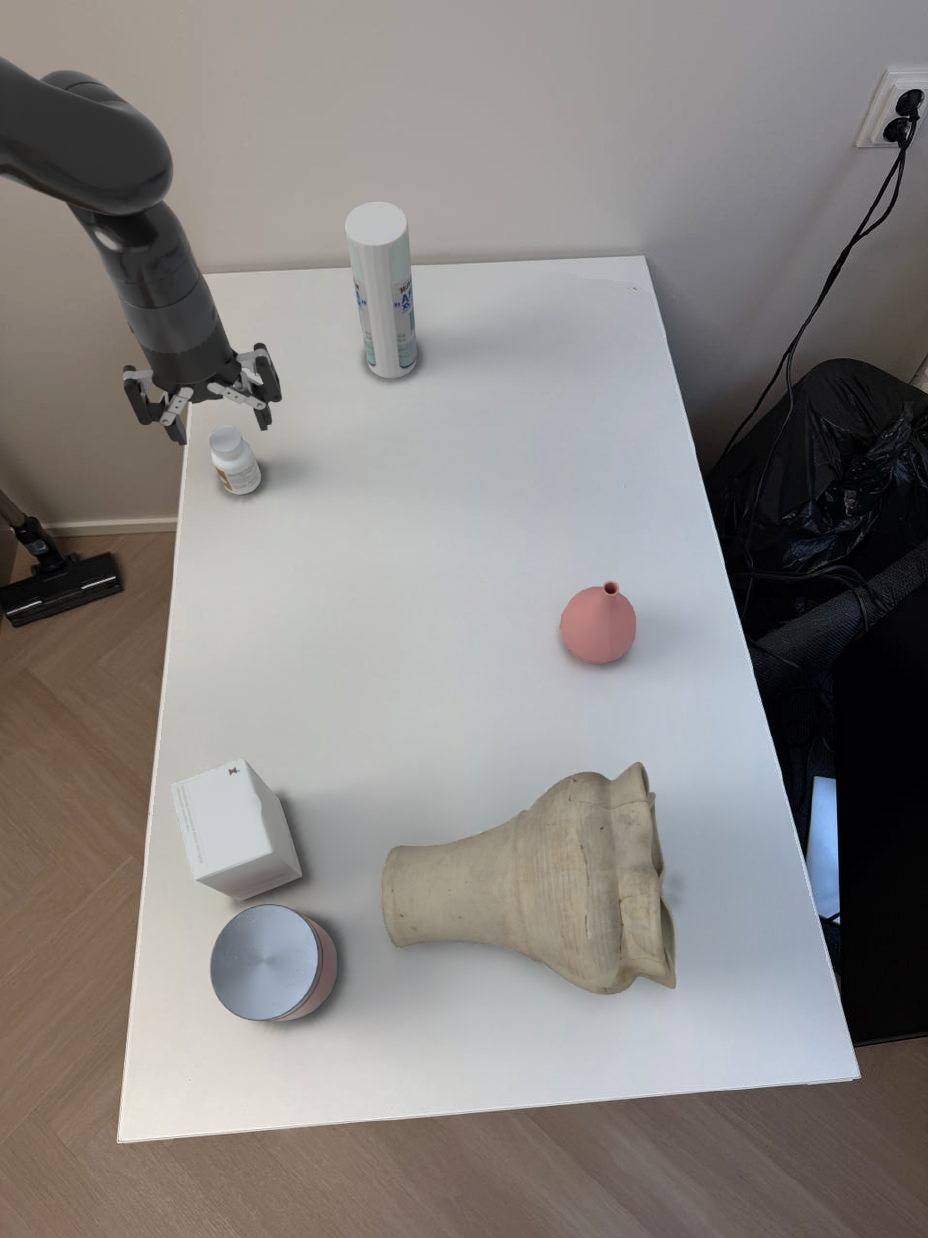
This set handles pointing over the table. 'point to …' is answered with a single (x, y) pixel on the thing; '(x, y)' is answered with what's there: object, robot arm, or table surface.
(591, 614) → the pink bud vase
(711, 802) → the table surface
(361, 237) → the spray can
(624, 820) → the vase
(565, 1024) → the table surface
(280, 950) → the tin can
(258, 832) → the cosmetic box
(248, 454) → the pill bottle
